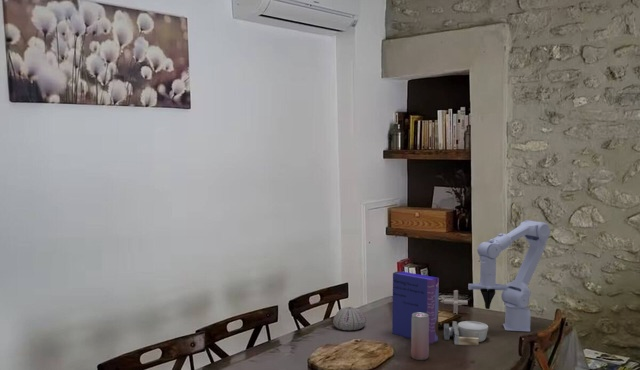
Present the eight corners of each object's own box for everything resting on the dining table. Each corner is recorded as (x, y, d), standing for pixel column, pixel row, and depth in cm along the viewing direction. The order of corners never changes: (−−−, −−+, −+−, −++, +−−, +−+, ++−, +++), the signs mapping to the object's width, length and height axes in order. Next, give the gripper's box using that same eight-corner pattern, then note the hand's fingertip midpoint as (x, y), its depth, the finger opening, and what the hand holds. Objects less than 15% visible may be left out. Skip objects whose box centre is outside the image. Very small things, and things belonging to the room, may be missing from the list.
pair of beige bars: (474, 332, 239) (474, 326, 239) (478, 345, 223) (478, 339, 223) (456, 331, 240) (456, 325, 240) (458, 344, 224) (458, 337, 224)
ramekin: (488, 335, 235) (489, 322, 234) (487, 344, 224) (487, 330, 224) (458, 332, 238) (459, 319, 238) (456, 341, 228) (456, 327, 227)
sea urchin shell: (373, 328, 245) (373, 308, 244) (346, 334, 237) (347, 314, 236) (351, 320, 255) (351, 301, 255) (325, 326, 247) (325, 306, 247)
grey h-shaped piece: (456, 331, 240) (456, 320, 240) (458, 344, 224) (459, 332, 224) (443, 330, 241) (443, 319, 241) (444, 343, 225) (445, 332, 225)
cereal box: (437, 340, 229) (438, 277, 227) (430, 344, 225) (431, 279, 224) (399, 331, 241) (400, 270, 239) (392, 333, 237) (392, 272, 235)
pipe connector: (467, 317, 260) (468, 294, 259) (443, 316, 262) (444, 292, 261) (467, 311, 269) (467, 288, 269) (443, 309, 271) (444, 287, 271)
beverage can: (409, 354, 214) (409, 312, 213) (426, 354, 214) (426, 312, 213) (413, 360, 208) (413, 317, 207) (430, 360, 208) (431, 316, 207)
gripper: (469, 275, 233) (469, 310, 234) (509, 276, 231) (508, 311, 232) (467, 271, 240) (467, 305, 241) (506, 272, 238) (505, 306, 239)
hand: (487, 308), depth 237 cm, fingers closed
